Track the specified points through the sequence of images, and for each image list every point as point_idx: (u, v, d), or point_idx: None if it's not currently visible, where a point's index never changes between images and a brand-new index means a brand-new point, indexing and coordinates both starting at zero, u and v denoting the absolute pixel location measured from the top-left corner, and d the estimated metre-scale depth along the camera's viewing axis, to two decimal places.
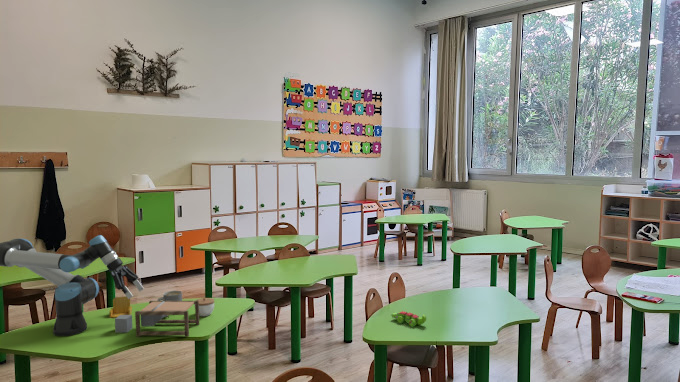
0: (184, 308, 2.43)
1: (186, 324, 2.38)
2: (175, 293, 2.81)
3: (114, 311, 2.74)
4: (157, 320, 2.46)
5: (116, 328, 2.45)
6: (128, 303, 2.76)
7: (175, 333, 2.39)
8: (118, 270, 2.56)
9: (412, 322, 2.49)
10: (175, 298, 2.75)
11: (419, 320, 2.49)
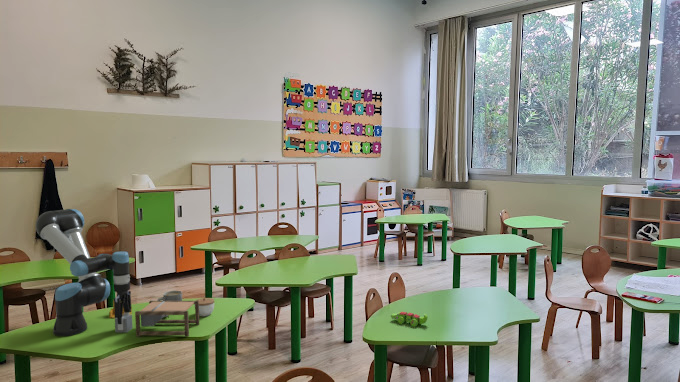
0: (184, 308, 2.43)
1: (186, 324, 2.38)
2: (175, 293, 2.81)
3: (114, 312, 2.73)
4: (157, 320, 2.46)
5: (116, 328, 2.45)
6: None
7: (175, 333, 2.39)
8: (122, 295, 2.44)
9: (414, 322, 2.49)
10: (175, 298, 2.75)
11: (421, 320, 2.49)
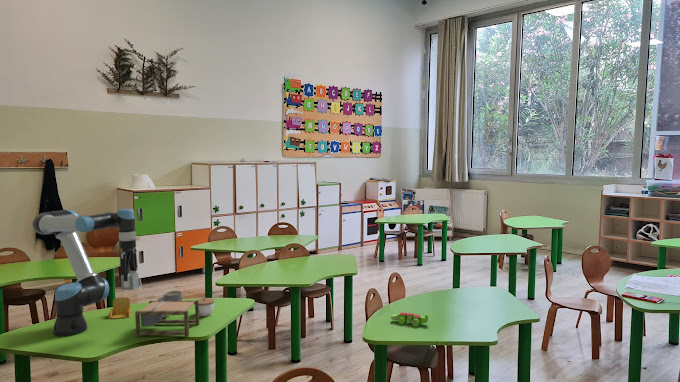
0: (184, 308, 2.43)
1: (186, 324, 2.38)
2: (175, 293, 2.81)
3: (114, 312, 2.72)
4: (157, 320, 2.46)
5: (122, 285, 2.43)
6: (128, 304, 2.74)
7: (175, 333, 2.39)
8: (127, 252, 2.42)
9: (416, 322, 2.49)
10: (175, 298, 2.75)
11: (422, 319, 2.50)
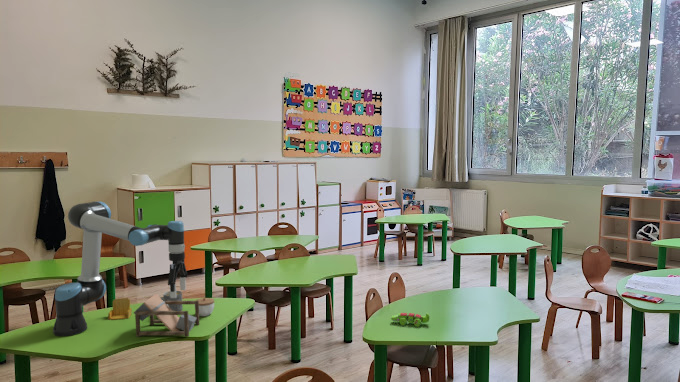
0: (176, 330, 2.44)
1: (186, 324, 2.38)
2: None
3: (114, 313, 2.71)
4: None
5: (183, 319, 2.44)
6: (128, 305, 2.72)
7: (175, 333, 2.39)
8: (177, 264, 2.42)
9: (418, 322, 2.49)
10: (175, 298, 2.75)
11: (424, 319, 2.51)
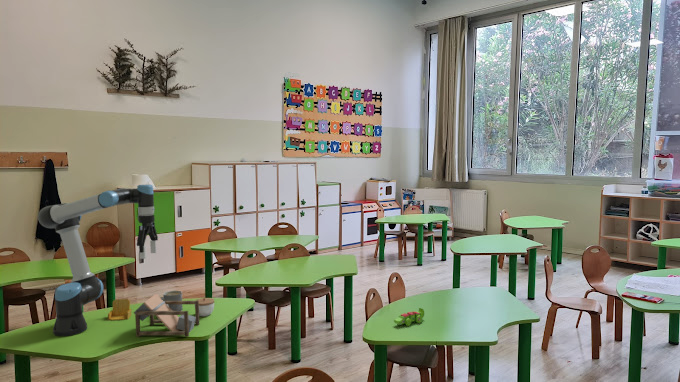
0: (176, 330, 2.44)
1: (186, 324, 2.38)
2: (175, 293, 2.81)
3: (113, 313, 2.69)
4: None
5: (182, 319, 2.44)
6: (127, 306, 2.71)
7: (175, 333, 2.39)
8: (146, 226, 2.48)
9: (420, 318, 2.55)
10: (175, 298, 2.75)
11: (421, 314, 2.58)
